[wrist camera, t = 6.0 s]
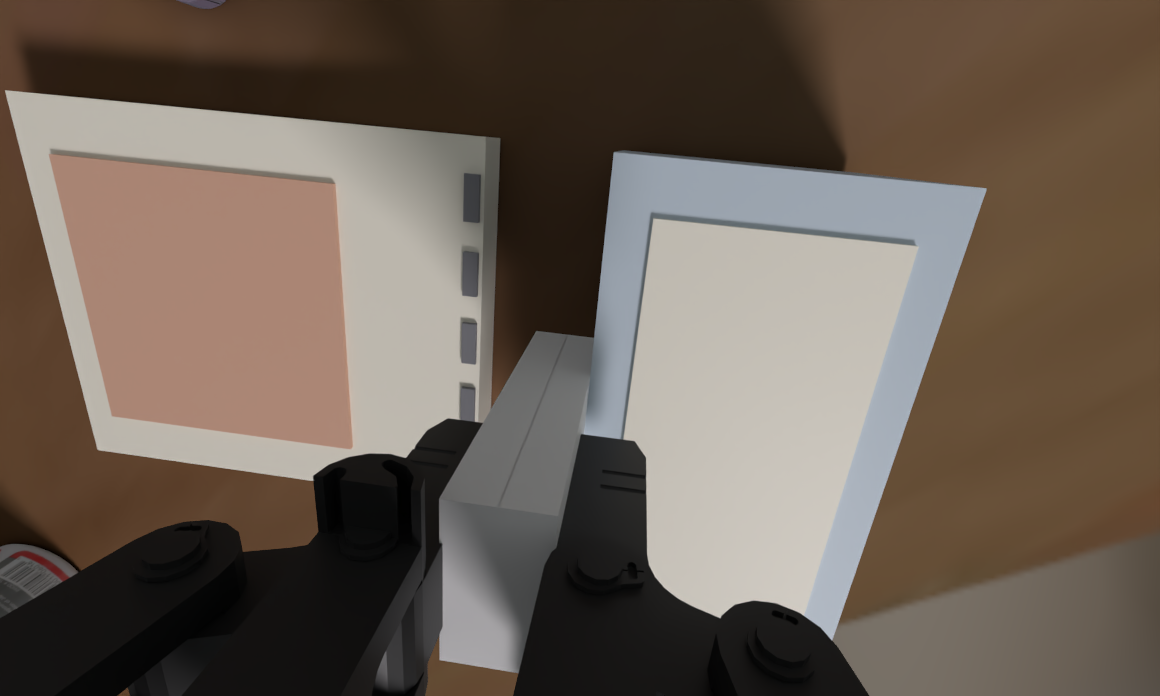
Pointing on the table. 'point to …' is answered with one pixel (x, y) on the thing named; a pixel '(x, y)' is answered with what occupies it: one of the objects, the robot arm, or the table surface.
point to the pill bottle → (28, 574)
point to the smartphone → (203, 3)
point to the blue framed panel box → (767, 362)
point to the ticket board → (265, 278)
